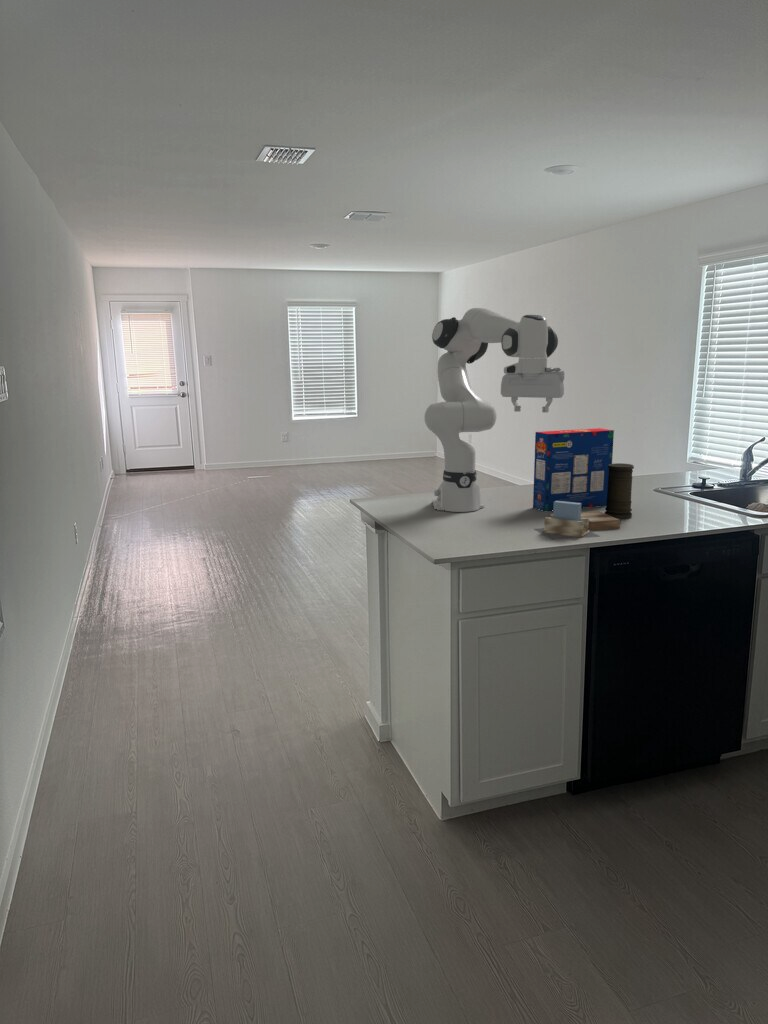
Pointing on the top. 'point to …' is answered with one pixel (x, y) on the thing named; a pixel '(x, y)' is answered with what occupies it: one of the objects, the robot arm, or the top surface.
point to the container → (619, 491)
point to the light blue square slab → (567, 510)
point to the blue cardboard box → (572, 467)
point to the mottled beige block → (566, 526)
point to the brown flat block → (600, 520)
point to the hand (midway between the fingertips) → (531, 411)
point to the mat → (558, 536)
